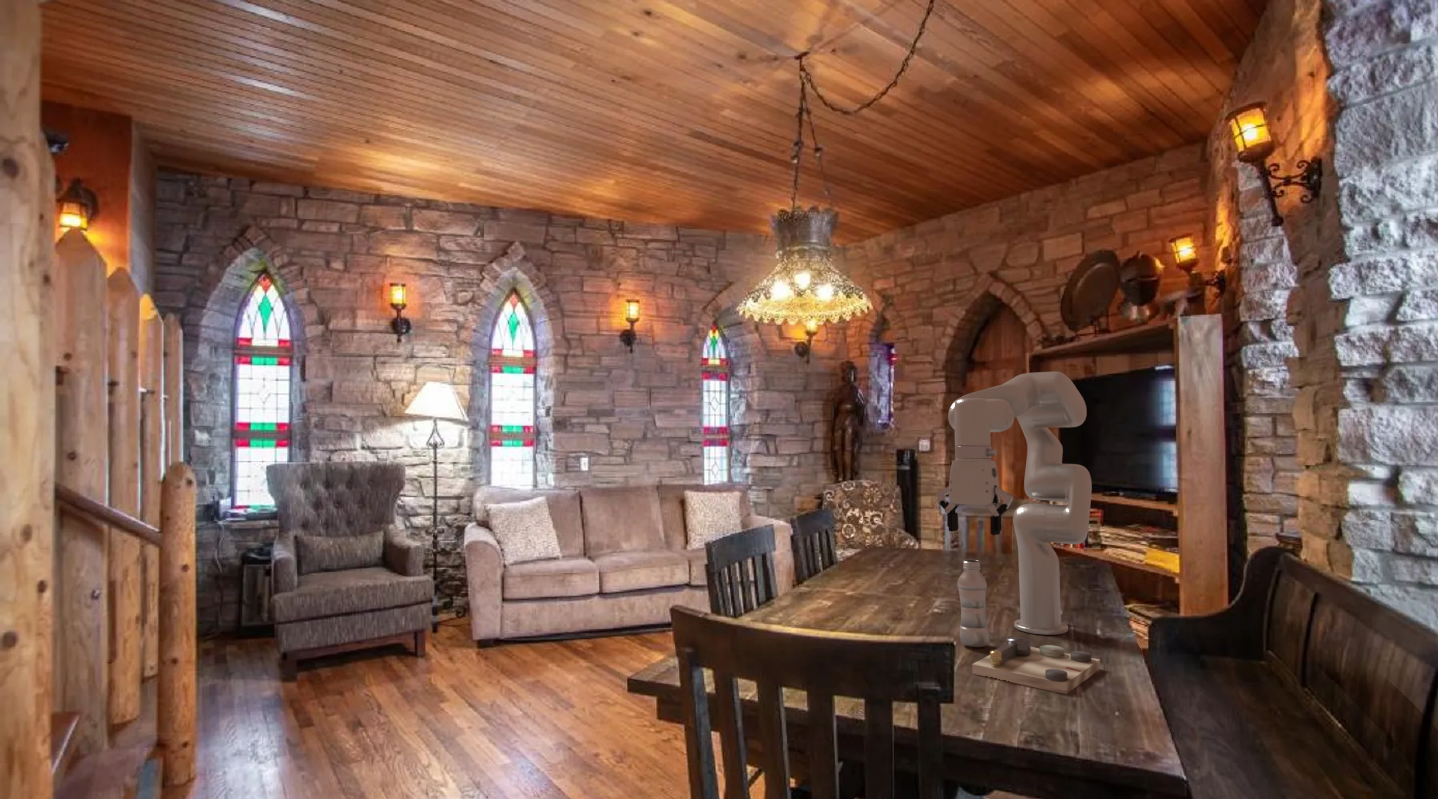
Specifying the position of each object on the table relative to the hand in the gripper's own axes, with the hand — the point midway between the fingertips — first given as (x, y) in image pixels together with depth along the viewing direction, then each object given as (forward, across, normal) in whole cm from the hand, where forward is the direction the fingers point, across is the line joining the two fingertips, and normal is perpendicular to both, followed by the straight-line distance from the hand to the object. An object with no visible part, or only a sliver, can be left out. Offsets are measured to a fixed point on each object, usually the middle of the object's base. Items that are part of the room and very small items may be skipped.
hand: (973, 532), depth 167 cm
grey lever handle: (+26, -6, -3) cm, 27 cm away
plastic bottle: (+28, +7, -14) cm, 32 cm away
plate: (+28, -11, -5) cm, 31 cm away
